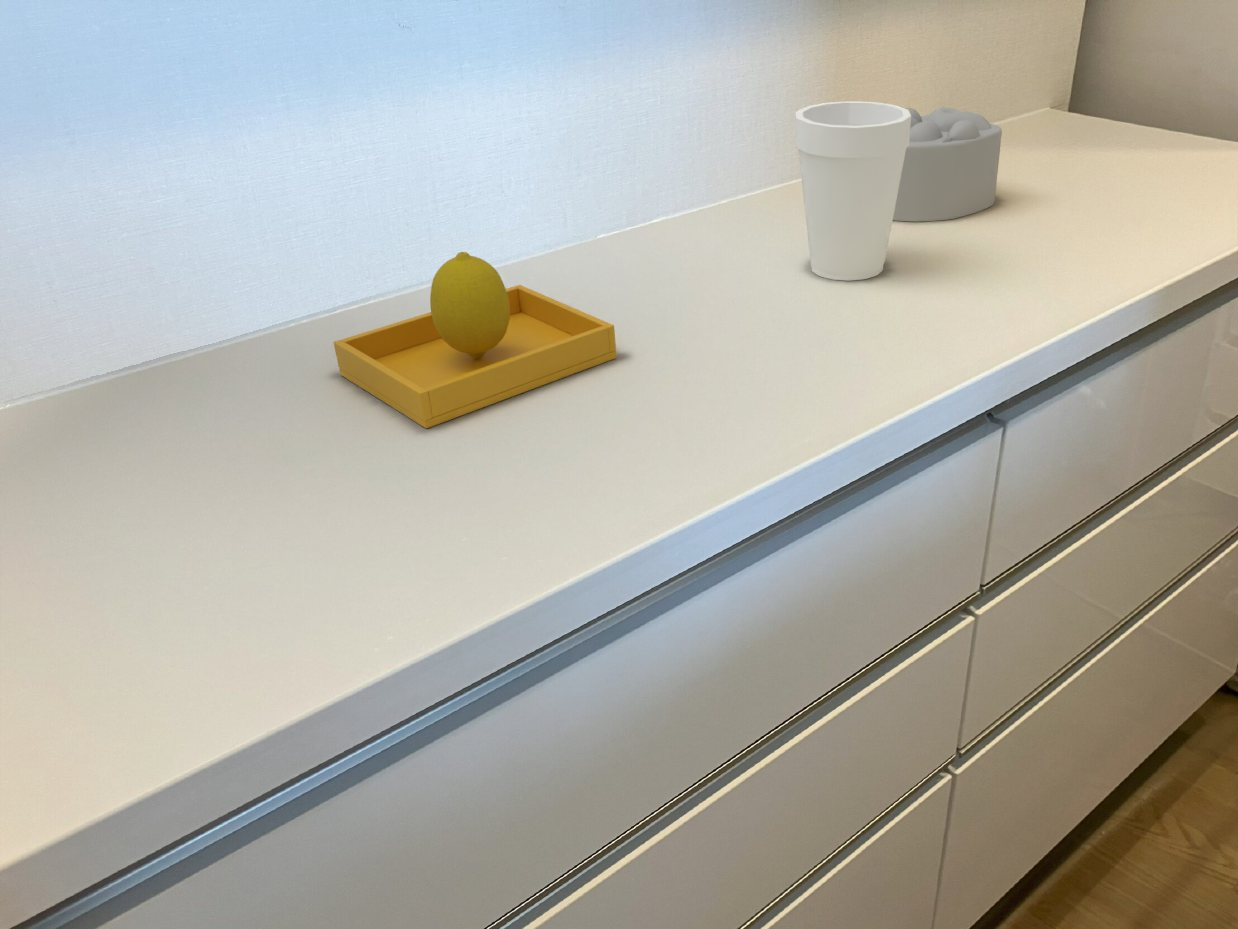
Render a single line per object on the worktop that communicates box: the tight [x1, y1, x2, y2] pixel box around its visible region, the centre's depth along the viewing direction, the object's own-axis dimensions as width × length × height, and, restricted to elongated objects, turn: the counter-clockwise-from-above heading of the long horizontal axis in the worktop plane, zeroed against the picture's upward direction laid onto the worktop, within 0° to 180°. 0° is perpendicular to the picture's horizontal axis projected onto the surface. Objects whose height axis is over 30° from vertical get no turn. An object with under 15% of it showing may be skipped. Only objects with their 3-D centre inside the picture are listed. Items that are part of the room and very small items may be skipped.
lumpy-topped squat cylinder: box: [893, 106, 1003, 222], centre depth 113 cm, size 10×13×9 cm
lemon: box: [429, 251, 510, 359], centre depth 82 cm, size 6×6×8 cm
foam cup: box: [794, 100, 911, 282], centre depth 97 cm, size 10×9×13 cm
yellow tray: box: [333, 284, 617, 429], centre depth 84 cm, size 16×12×3 cm
